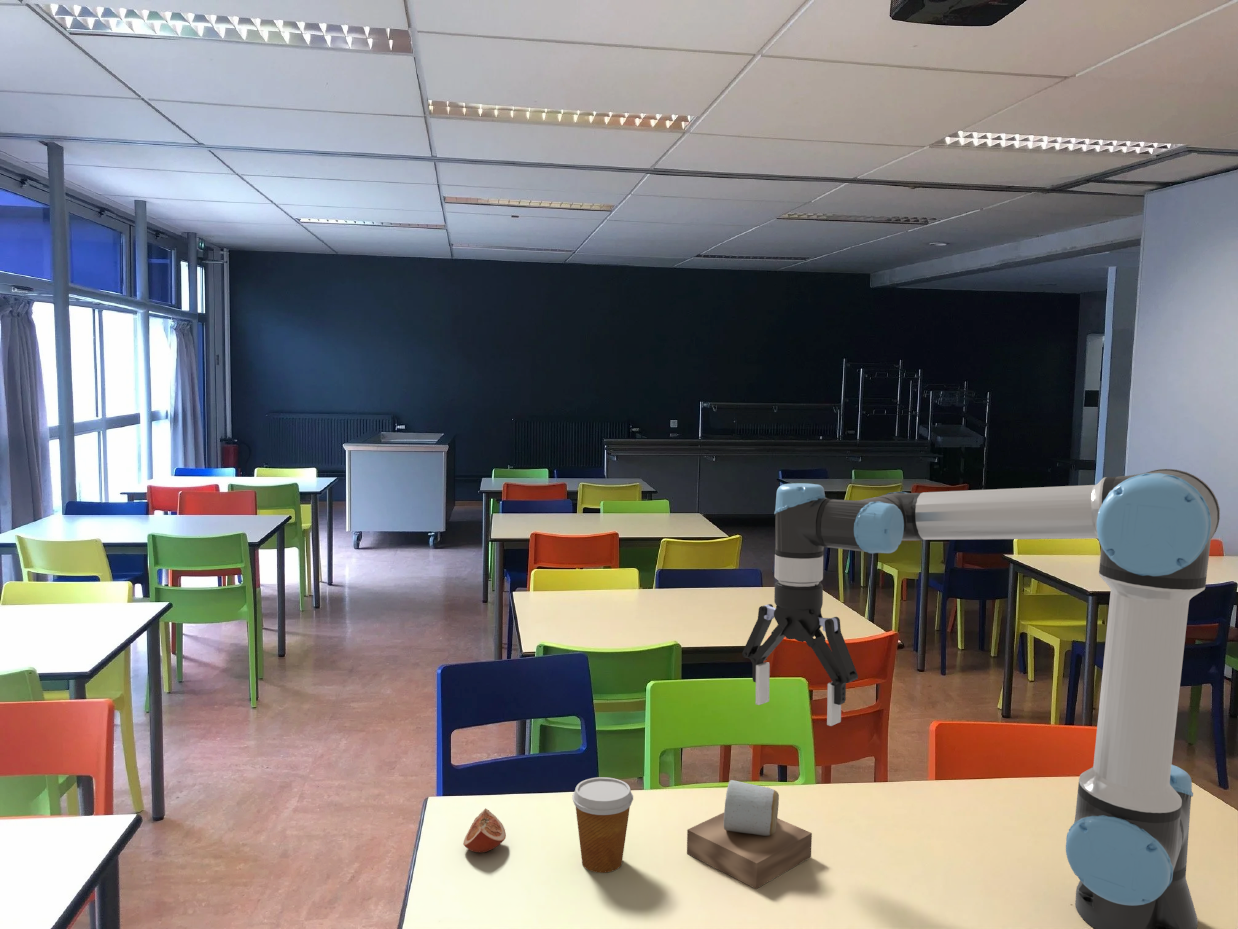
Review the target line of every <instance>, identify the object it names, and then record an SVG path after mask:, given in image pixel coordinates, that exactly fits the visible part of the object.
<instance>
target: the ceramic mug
mask: <svg viewBox="0 0 1238 929" xmlns="http://www.w3.org/2000/svg"><path fill="white" fill-rule="evenodd" d="M779 801H780V795H779V792H778V791H777V790H776V789H773V788H770V787H769V786H767V787H766V786H763V785H762V786H761V785H756V784H752V783H746V782H743V781H738V780H733V779H731V780H729V781H728V785H727V789H726V793H725V801H724V811H723V813H724V829H725V830H727V831H734V832H741V833H748V834H755V835H762V836H770V835H773V834H774V833H775V830H776V825H777V818H778V814H779Z"/></svg>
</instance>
